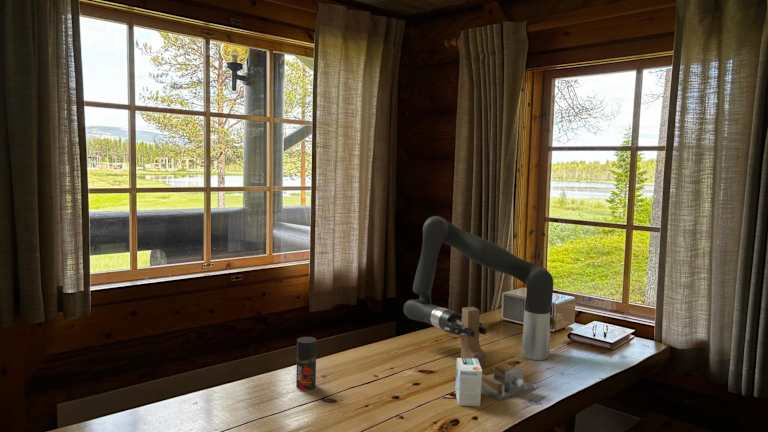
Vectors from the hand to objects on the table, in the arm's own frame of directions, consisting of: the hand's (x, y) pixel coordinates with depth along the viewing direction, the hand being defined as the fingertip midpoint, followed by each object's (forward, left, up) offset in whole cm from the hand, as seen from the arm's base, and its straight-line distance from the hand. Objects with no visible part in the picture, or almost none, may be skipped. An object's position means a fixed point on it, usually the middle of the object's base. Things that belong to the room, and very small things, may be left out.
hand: (479, 332), depth 183 cm
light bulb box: (+15, +11, -15) cm, 24 cm away
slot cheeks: (0, +9, -14) cm, 17 cm away
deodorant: (+53, -21, -15) cm, 59 cm away
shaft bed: (0, +10, -15) cm, 18 cm away
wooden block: (0, -3, -11) cm, 12 cm away
